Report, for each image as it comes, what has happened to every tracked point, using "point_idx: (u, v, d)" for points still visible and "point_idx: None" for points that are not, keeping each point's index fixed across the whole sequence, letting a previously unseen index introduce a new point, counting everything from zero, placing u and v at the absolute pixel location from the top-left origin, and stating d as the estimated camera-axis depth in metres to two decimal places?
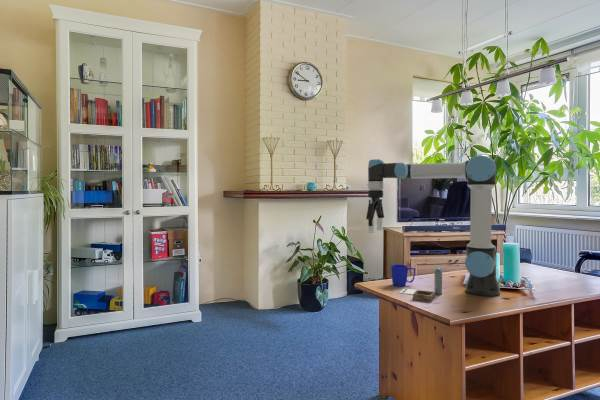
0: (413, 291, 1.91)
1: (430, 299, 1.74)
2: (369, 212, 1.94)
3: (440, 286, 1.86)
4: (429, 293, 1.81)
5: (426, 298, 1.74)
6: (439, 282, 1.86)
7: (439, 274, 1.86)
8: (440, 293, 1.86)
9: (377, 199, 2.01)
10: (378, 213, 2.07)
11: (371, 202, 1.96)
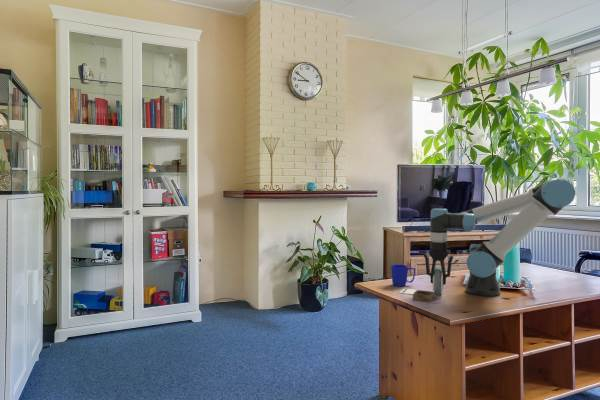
0: (413, 291, 1.91)
1: (430, 299, 1.74)
2: None
3: (440, 286, 1.86)
4: (429, 293, 1.81)
5: (426, 298, 1.74)
6: (439, 282, 1.86)
7: (439, 274, 1.86)
8: (440, 293, 1.86)
9: (437, 251, 1.86)
10: None
11: None
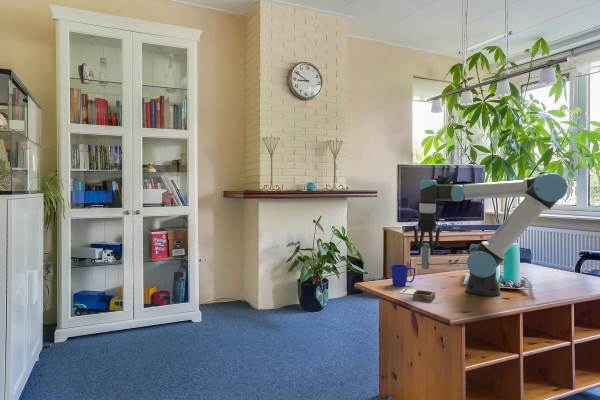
0: (413, 291, 1.91)
1: (430, 299, 1.74)
2: None
3: (427, 260, 1.88)
4: (429, 293, 1.81)
5: (426, 298, 1.74)
6: (426, 256, 1.88)
7: (427, 249, 1.88)
8: (427, 267, 1.88)
9: (426, 222, 1.88)
10: None
11: None
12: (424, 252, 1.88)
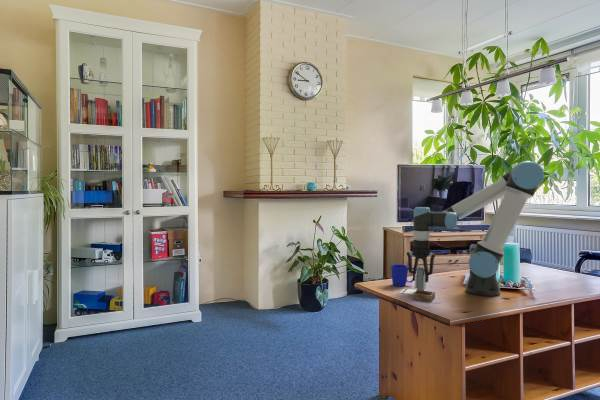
0: (413, 291, 1.91)
1: (430, 299, 1.74)
2: None
3: (422, 284, 1.88)
4: (429, 293, 1.81)
5: (426, 298, 1.74)
6: (421, 280, 1.88)
7: (421, 272, 1.88)
8: None
9: (420, 249, 1.88)
10: None
11: None
12: (419, 276, 1.88)
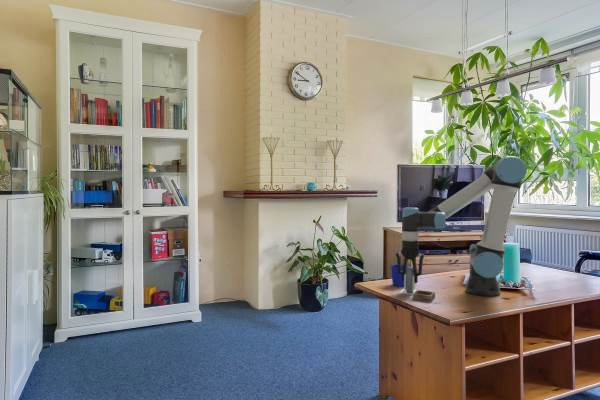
0: (413, 291, 1.91)
1: (430, 299, 1.74)
2: None
3: (411, 285, 1.87)
4: (429, 293, 1.81)
5: (426, 298, 1.74)
6: (410, 281, 1.87)
7: (410, 273, 1.87)
8: (411, 292, 1.87)
9: (409, 250, 1.87)
10: None
11: None
12: (408, 276, 1.87)
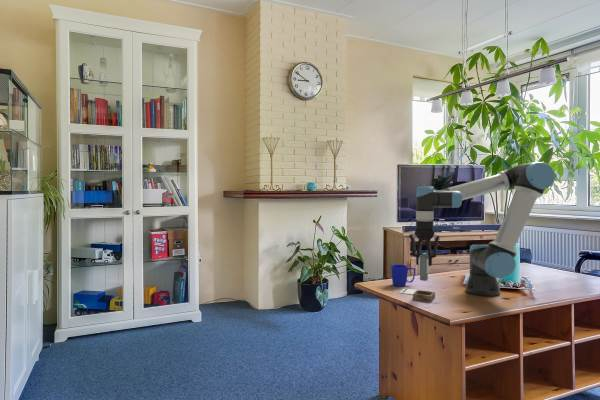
0: (413, 291, 1.91)
1: (430, 299, 1.74)
2: None
3: (426, 271, 1.77)
4: (429, 293, 1.81)
5: (426, 298, 1.74)
6: (425, 267, 1.77)
7: (425, 259, 1.77)
8: (426, 279, 1.77)
9: (423, 231, 1.77)
10: None
11: None
12: (422, 263, 1.77)
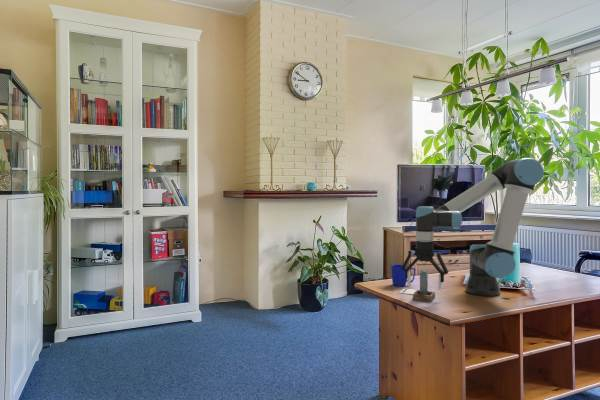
0: (413, 291, 1.91)
1: (430, 299, 1.74)
2: (404, 263, 1.83)
3: (426, 289, 1.77)
4: (429, 293, 1.81)
5: (426, 298, 1.74)
6: (425, 285, 1.77)
7: (425, 277, 1.77)
8: None
9: (423, 251, 1.78)
10: None
11: None
12: (422, 280, 1.78)
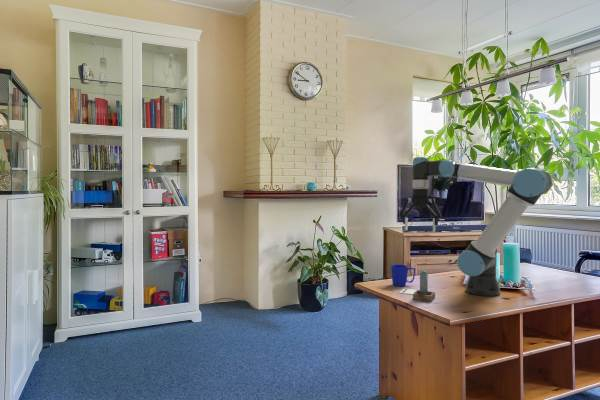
0: (413, 291, 1.91)
1: (430, 299, 1.74)
2: None
3: (426, 289, 1.77)
4: (429, 293, 1.81)
5: (426, 298, 1.74)
6: (425, 285, 1.77)
7: (425, 277, 1.77)
8: None
9: (419, 198, 1.96)
10: None
11: None
12: (422, 280, 1.78)
